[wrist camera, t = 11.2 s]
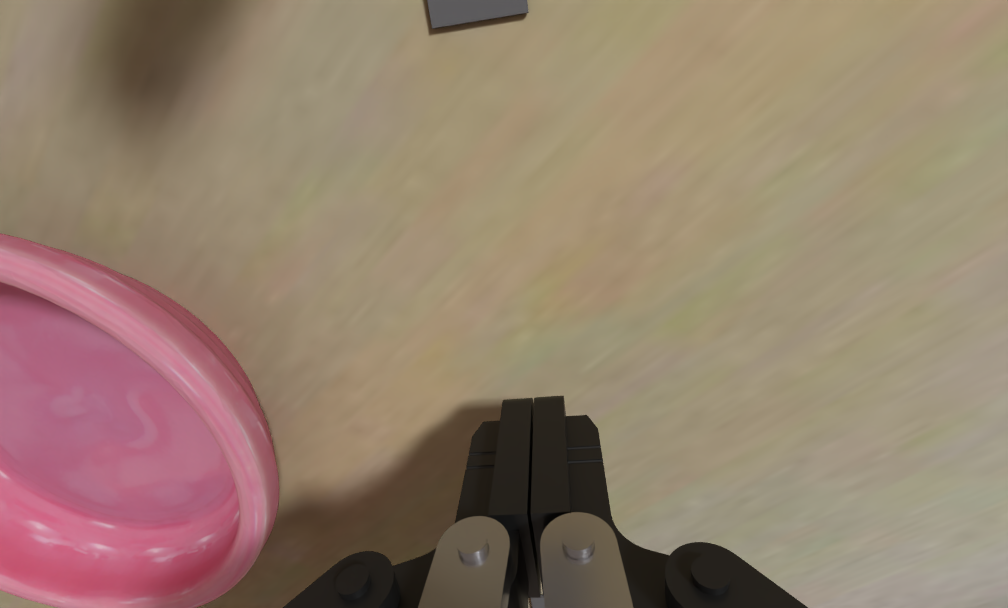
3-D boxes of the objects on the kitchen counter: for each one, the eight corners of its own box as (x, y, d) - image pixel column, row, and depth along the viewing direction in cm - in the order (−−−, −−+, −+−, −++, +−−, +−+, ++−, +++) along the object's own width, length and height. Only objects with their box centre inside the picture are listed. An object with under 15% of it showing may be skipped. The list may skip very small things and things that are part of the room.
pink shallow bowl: (260, 581, 19) (209, 672, 16) (-82, 455, 17) (-208, 532, 14) (367, 327, 14) (321, 394, 11) (-104, 114, 12) (-305, 126, 9)
